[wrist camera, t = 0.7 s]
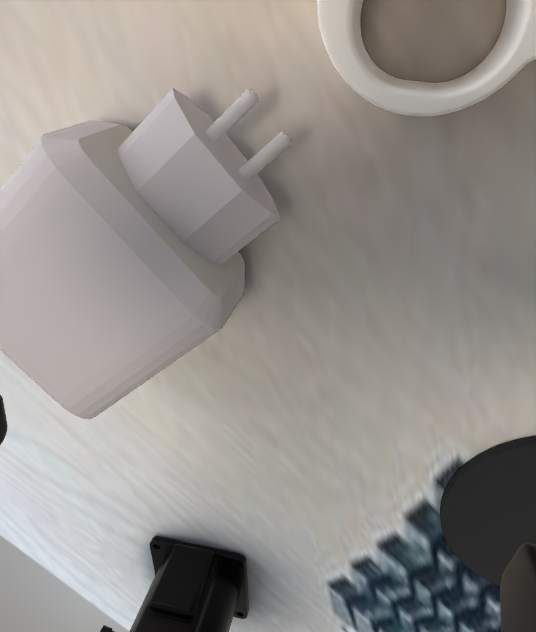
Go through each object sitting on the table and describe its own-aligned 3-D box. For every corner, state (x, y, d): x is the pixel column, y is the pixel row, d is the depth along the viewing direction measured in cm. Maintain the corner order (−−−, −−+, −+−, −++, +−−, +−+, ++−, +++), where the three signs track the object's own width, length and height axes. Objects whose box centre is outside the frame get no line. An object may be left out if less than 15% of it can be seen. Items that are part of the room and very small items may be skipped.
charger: (362, 201, 20) (132, 369, 27) (203, -4, 18) (-1, 237, 25) (350, 246, 16) (84, 429, 23) (143, -13, 14) (-79, 278, 21)
